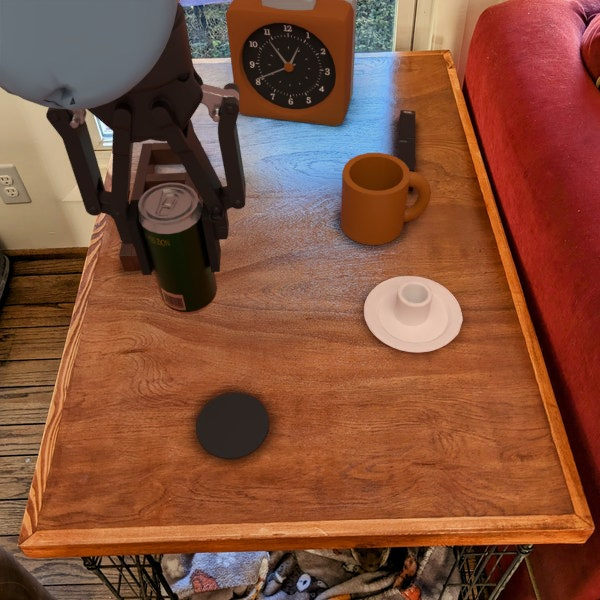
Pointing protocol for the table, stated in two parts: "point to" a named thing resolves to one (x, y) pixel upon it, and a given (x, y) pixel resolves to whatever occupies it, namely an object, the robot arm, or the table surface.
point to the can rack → (147, 180)
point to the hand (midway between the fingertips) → (182, 262)
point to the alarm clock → (293, 58)
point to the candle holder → (413, 314)
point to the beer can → (177, 247)
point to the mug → (379, 197)
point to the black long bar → (407, 140)
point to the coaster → (232, 425)
